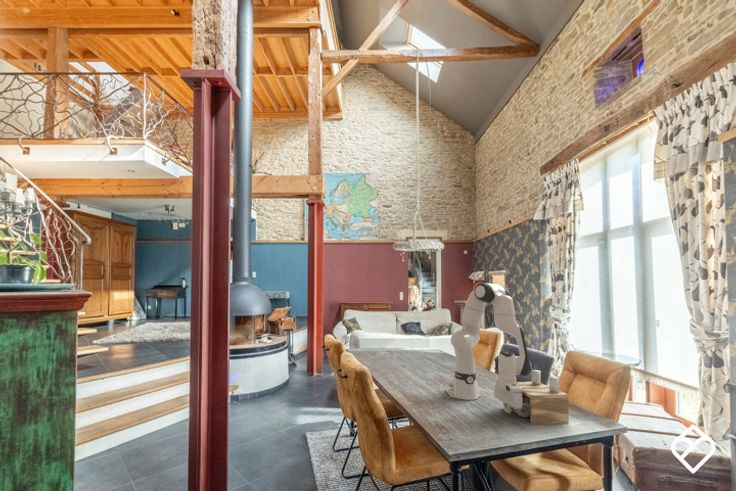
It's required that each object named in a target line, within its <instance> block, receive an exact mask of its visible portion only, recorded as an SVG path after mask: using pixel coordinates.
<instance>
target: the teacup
mask: <svg viewBox="0 0 736 491" xmlns="http://www.w3.org/2000/svg"><path fill="white" fill-rule="evenodd" d="M511 412H515V413H516V414H517V415H518V416H519V417H522V418H531V417H530V398H526V397H522V408H521V409H515V408H513V409H511Z"/></svg>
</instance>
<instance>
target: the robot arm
mask: <svg viewBox="0 0 736 491" xmlns="http://www.w3.org/2000/svg"><path fill="white" fill-rule="evenodd" d="M487 304H491V305H492V306H493V322H494V325H495V327H496V328H497V329H498V330H499V331H501V332H503V333H505V334H508V335H510V336H512V337H513V338H514V339H515V340H516V342H517V347H518V351H519V355H515V353H514V352H512V351H510V350H502V351H500V352H499V354H498V355H496V357H495V358H494V371H496V372H497V373H498V376H497V380H496V381H495V385H494V390H493V391H494V392H493V393H494V394H493V395H494V397H495V399H498V400H499V401H501V402H502V404H503V408H504V410H503V411H504V412H506V413H507V414H511V412H512V411H511V408H512V407H513V408H515V409H521V408H522V394H521V392H522V387H521V386H520V385H519V384H518V382H519V381H517V377H516V376H520V377H528V376H529V375H530V374H532V370H533V368H532V363H531V360H530V357H529V353H528V347H527V342H526V339H525V334H524V330H523V327H522V326H521V325H519V324H518V322H517V320H516V310H515V304H514V300H513V298H512V297H511V296H510V295H509V290H508V289H507V288H506V287H505V286H503V285H502V284H496V283H492V282H491V283H487V282H480V283H478V284H477V285H476V286H475V287H474V290H472V291H471V292H470V294H469V295H468V297H467V300H466V302H465V306H464V309H463V313H462V317H461V319H462V328H461V329H460V330H456V331H455V332H454V333H453V334H452V335H451V337H450V344H451V345H452V347H453V350H454V354H455V371H454V377H453V378H452V379H451V380H450V381H449V383H448V388H447V387H446V388H445V391H446V393H447V394H448V395H449V397H450V398H454V399H459V400H465V401H472V400H473V401H474V400H477V399H479V397H481V393H479V384H478V383H479V382H478V380H477V373H476V358H475V357H474V353H473V347H475V346H477V344H478V343H479V342H480V339H481V338H480V330H481V323H482V319H483V316H484V312H485V308H486V305H487Z"/></svg>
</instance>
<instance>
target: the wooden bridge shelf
mask: <svg viewBox="0 0 736 491" xmlns="http://www.w3.org/2000/svg"><path fill="white" fill-rule="evenodd" d="M517 382H518V384H519V385H520V386H521V387H522V392H521V394H522V397H526V398H530V417H529V418H530V424H531V425H532V426H533V425H546V424H547V425H548V424H550V425H552V424H553V425H554V424H566V423H569V422H570V421H569V418H570V416H569V415H570V413H569V394H568V393H565V391H561V390H559V393H553V392H550V391H549V385H547V384H544V383H542V382H541V385H534V384H532V381H517ZM511 409H512V410H514V409H513V407H512V408H511Z"/></svg>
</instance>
